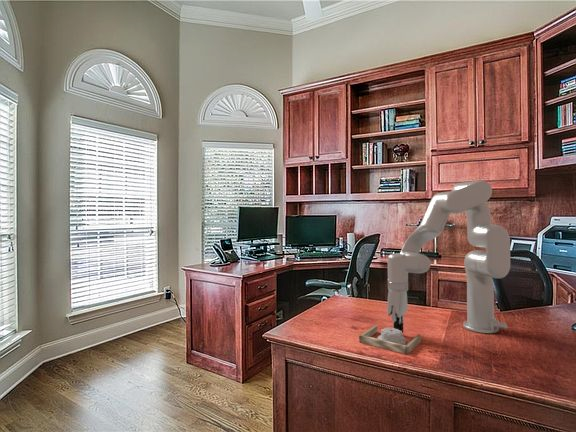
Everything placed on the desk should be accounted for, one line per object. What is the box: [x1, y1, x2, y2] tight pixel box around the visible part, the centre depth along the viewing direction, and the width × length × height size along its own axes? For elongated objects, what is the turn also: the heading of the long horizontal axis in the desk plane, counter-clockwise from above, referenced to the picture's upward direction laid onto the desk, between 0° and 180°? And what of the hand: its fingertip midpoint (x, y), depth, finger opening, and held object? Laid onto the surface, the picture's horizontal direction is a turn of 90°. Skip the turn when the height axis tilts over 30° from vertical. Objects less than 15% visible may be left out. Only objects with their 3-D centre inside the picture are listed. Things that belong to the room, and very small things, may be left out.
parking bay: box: [358, 324, 422, 355], centre depth 126 cm, size 18×14×2 cm
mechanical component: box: [377, 327, 407, 345], centre depth 126 cm, size 10×4×10 cm
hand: (398, 332), depth 132 cm, fingers closed
